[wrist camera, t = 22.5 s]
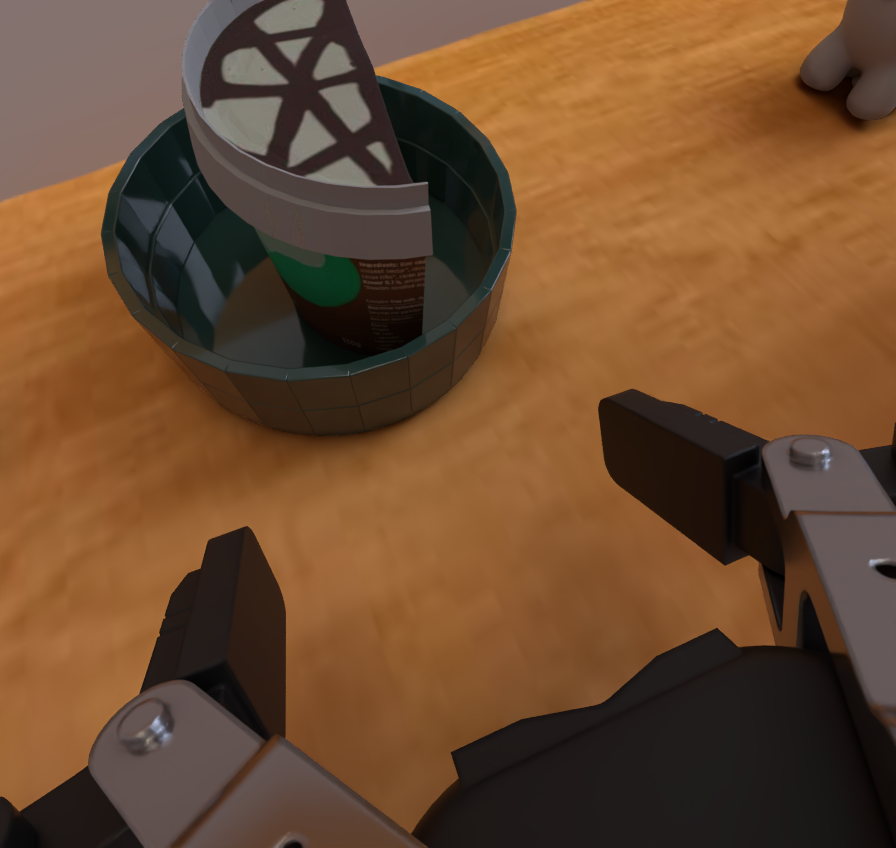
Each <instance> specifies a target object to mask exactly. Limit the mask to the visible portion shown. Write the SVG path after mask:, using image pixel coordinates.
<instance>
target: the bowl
mask: <svg viewBox="0 0 896 848" xmlns="http://www.w3.org/2000/svg"><path fill="white" fill-rule="evenodd" d="M376 78H377V81H378V84H379V88H380V91H381V94H382V97H383V100H384V103H385V106H386V110H387V113H388V116H389V118H390V121H391V124H392V127H393V130H394V133H395V136H396V139H397V142H398V145H399V147H400V150H401V153H402V156H403V159H404V162H405V165H406V167H407V170H408V172H409V175H410V177H411V179H412V181H413V182H414V183H421V182H428V205H429V208H430V210H431V226H432V247H433V255H429V256H426V264H425V285H424V307H423V328H422V335H421V336H419V337H417V338H416V339H414V340H412V341H411V342H409V343H407V344H406V345H404V346H402V347H400V348H397V349H393V350H390V351H387V352H384V353H381V354H377V355H374V356H368V355H364V354H359V353H355V352H351V351H349V350H346V349H343V348H341V347H338V346H336V345H334V344H333V343H331V342H329V341H327V340H326V339H324V338H322V337H321V336H320V335H319V334H318V333H316V332H315V331H314V330H313V329H311V327H310V326H309V325H308V324H307V323H306V322H305V320H304V319H303V318H302V317H301V315H300V313H299V311H298V310H297V308H296V306H295V304H294V302H293V300H292V299H291V297H290V295H289V293H288V291H287V289H286V287H285V285H284V283H283V281H282V280H281V278H280V276H279V274H278V272H277V270H276V268H275V266H274V264H273V262H272V261H271V259H270V257H269V255H268V253H267V251H266V249H265V247H264V245H263V244H262V242H261V240H260V238H259V236H258V234H257V232H256V230H255V228H254V226H252V225H250V224H248V223H247V222H246V221H244V220H243V219H242V218H241V217H239V216H238V215H237V214H236V213H234V212H233V211H232V210H231V209H229V208H228V207H227V206H226V205H225V204H224V203H223V202H222V201H221V199H220V198H219V197H218V196H217V195H216V194H215V192H214V191H213V190H212V189H211V188H210V187H209V185H208V183H207V181H206V180H205V178H204V176H203V174H202V172H201V170H200V169H199V167H198V164H197V161H196V157H195V153H194V150H193V146H192V142H191V138H190V133H189V128H188V124H187V119H186V115H185V110H184V108H183V109H182V110H180V111H179V112H177V113H175V114H174V115H172V116H171V117H169V118H168V119H166V120H164V121H163V122H162V123H160V124H159V125H158V126H157V127H156V128H155V129H154V130H153V131H152V132H151V133H150V134H149V135H148V136H147V137H146V138H145V139H144V141H142V142H141V143H140V144H139V145H138V146H137V147H136V148H135V149H134V150H133V151H132V153H130V155H129V157H128V159H127V160H126V162H125V164H124V166H123V167H122V169H121V171H120V173H119V175H118V176H117V178H116V180H115V182H114V183H113V185H112V187H111V189H110V191H109V193H108V199H107V204H106V209H105V214H104V219H103V225H102V230H101V238H102V244H103V249H104V255H105V261H106V267H107V272H108V276H109V279H110V280H111V282H112V284H113V285H114V287H115V289H116V290H117V292H118V294H119V295H120V297H121V299H122V300H123V302H124V304H125V305H126V307H127V309H128V310H129V312H130V314H131V315H132V316H133V318H134V319H135V320H136V321H137V322H138V323H139V324H140V325H141V326H142V327H143V329H144V330H145V331H146V332H147V333H148V334H149V335H150V336H151V337H152V338H153V339H154V341H155V342H156V343H157V344H158V345H159V346H160V347H161V348H162V349H163V350H164V351H165V352H166V354H167V355H168V356H169V357H170V358H171V359H172V360H173V361H174V362H175V363H176V365H177V366H178V367H179V368H180V369H181V370H182V371H183V372H184V373H185V374H186V375H187V377H188V378H189V379H190V380H191V381H192V382H194V383H195V384H196V385H197V386H198V387H200V388H201V389H202V390H203V391H204V392H205V393H207V394H208V395H209V396H210V397H211V398H213V399H214V400H215V401H216V402H217V403H219V404H220V405H221V406H222V407H224V408H226V409H228V410H231V411H233V412H235V413H237V414H239V415H241V416H243V417H245V418H247V419H249V420H251V421H253V422H256V423H259V424H261V425H264V426H267V427H270V428H272V429H276V430H281V431H286V432H290V433H295V434H304V435H314V436H334V435H348V434H355V433H361V432H367V431H371V430H374V429H378V428H382V427H385V426H389V425H391V424H394V423H396V422H399V421H401V420H404V419H406V418H408V417H411V416H412V415H414V414H416V413H418V412H420V411H421V410H423V409H425V408H427V407H428V406H430V405H431V404H433V403H434V402H435V401H437V400H438V399H439V398H441V397H442V396H443V395H445V394H446V393H447V392H448V391H449V390H450V389H451V388H452V387H454V386H455V385H456V384H457V383H458V382H459V381H460V380H461V379H462V377H463V376H464V375H465V374H466V372H467V371H468V370H469V368H470V367H471V366H472V365H473V363H474V362H475V361H476V360H477V358H478V357H479V355H480V354H481V352H482V350H483V348H484V346H485V343H486V341H487V339H488V337H489V335H490V333H491V331H492V329H493V327H494V325H495V322H496V319H497V314H498V310H499V305H500V301H501V296H502V292H503V287H504V283H505V278H506V274H507V269H508V265H509V261H510V256H511V252H512V244H513V237H514V229H515V221H516V213H517V212H516V206H515V201H514V196H513V192H512V187H511V183H510V178H509V174H508V171H507V169H506V168H505V166H504V164H503V163H502V161H501V159H500V158H499V156H498V154H497V153H496V151H495V149H494V147H493V146H492V144H491V142H490V141H489V139H488V138H487V137H486V136H485V135H484V134H483V133H482V132H481V131H480V130H479V129H478V128H477V127H475V126H474V125H473V124H472V123H471V122H470V121H469V120H468V119H467V118H466V117H465V116H464V115H463V114H462V113H461V112H459V111H458V110H456V109H455V108H453V107H451V106H450V105H448V104H446V103H444V102H443V101H441V100H439V99H437V98H436V97H434V96H432V95H431V94H429V93H427V92H425V91H422V90H421V89H418V88H415V87H412V86H409V85H406V84H403V83H400V82H397V81H394V80H391V79H388V78H385V77H381V76H376Z"/></svg>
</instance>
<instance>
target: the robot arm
mask: <svg viewBox="0 0 896 848" xmlns="http://www.w3.org/2000/svg"><path fill="white" fill-rule="evenodd" d="M598 411H599V420H600V429H601V437H602V446H603V454H604V461H605V465H606V468H607V470H608V472H609V474H610V476H611V477H612V479H613V480H614V481H615V482H616V483H617V484H618V485H619V486H620V487H622V488H623V489H624V490H626V491H627V492H628V493H630V494H631V495H632V496H634V497H635V498H636V499H638V500H639V501H640V502H642V503H643V504H644V505H645V506H647V507H648V508H649V509H651V510H652V511H653V512H655V513H656V514H657V515H659V516H660V517H661V518H663V519H664V520H665V521H667V522H668V523H669V524H671V525H672V526H673V527H675V528H676V529H677V530H679V531H680V532H681V533H682V534H684V535H685V536H686V537H688V538H689V539H690V540H692V541H693V542H694V543H696V544H697V545H698V546H700V547H701V548H702V549H704V550H705V551H706V552H708V553H709V554H710V555H712V556H713V557H714V558H716V559H717V560H718V561H719V562H721V563H722V564H723V565H727V564H730V563H732V562H734V561H736V560H739V559H741V558H743V557H746V556H748V555H750V556H751V557H753V558H754V559H756V560H757V561H759V569H758V572H759V578H760V582H761V586H762V591H763V595H764V599H765V603H766V607H767V612H768V616H769V620H770V624H771V628H772V632H773V637H774V641H775V645H776V646H765V645H763V646H748V647H739V648H738V647H737V646H736V645H735V644H734V643H733V642H732V641H731V640H730V639H729V638H728V637H726V636H725V635H724V634H723V633H722V632H721V631H720V630H719V629H718V628H716V629H714V630H712V631H709V632H707V633H705V634H703V635H701V636H699V637H697V638H695V639H692V640H690V641H688V642H686V643H684V644H682V645H680V646H677V647H675V648H673V649H671V650H669V651H667V652H665V653H662V654H660V655H658V656H656V657H655V658H654V659H653V660H652V661H651V662H650V663H648V664H647V665H646V666H645V667H644V668H643V669H642V670H640V671H639V672H638V673H637V674H636V675H635V676H634V677H633V678H631V679H630V680H629V681H628V682H627V683H626V684H625V685H623V686H622V687H621V688H620V689H619V690H618V691H617V692H615V693H614V694H613V695H612V696H611V697H610V698H609V699H607V700H606V701H605V702H603V703H601V704H598V705H594V706H589V707H584V708H579V709H573V710H568V711H563V712H557V713H552V714H547V715H542V716H536V717H531V718H526V719H521V720H519V721H517V722H515V723H512V724H510V725H508V726H506V727H504V728H502V729H500V730H498V731H495V732H493V733H491V734H489V735H487V736H485V737H483V738H480V739H478V740H476V741H474V742H472V743H470V744H468V745H465V746H463V747H461V748H459V749H457V750H455V751H453V752H451V755H452V758H453V761H454V764H455V767H456V771H457V774H458V777H459V779H457V780H456V781H455V782H454V783H453V784H452V785H451V786H449V787H448V788H447V789H446V790H445V791H444V792H443V793H442V794H441V795H440V796H439V798H438V799H437V800H436V801H435V802H434V803H433V804H432V805H431V806H430V808H429V809H428V810H427V812H426V813H425V814H424V816H423V817H422V819H421V820H420V821H419V823H418V824H417V825H416V827H415V829H414V830H413V832H412V834H410V833H409V832H407V831H406V830H405V829H403V828H402V827H401V826H399V825H398V824H397V823H395V822H394V821H393V820H392V819H390V818H389V817H388V816H386V815H385V814H384V813H382V812H381V811H380V810H378V809H377V808H376V807H374V806H373V805H372V804H370V803H369V802H368V801H367V800H365V799H364V798H363V797H361V796H360V795H359V794H357V793H356V792H355V791H353V790H352V789H351V788H349V787H348V786H347V785H346V784H344V783H343V782H342V781H340V780H339V779H338V778H336V777H335V776H334V775H332V774H331V773H330V772H328V771H327V770H326V769H325V768H323V767H322V766H321V765H319V764H318V763H317V762H315V761H314V760H313V759H311V758H310V757H309V756H307V755H306V754H305V753H304V752H302V751H301V750H300V749H298V748H297V747H296V746H294V745H293V744H292V743H290V742H289V741H288V740H286V739H285V735H286V610H285V604H284V600H283V596H282V593H281V590H280V587H279V585H278V583H277V581H276V578H275V576H274V574H273V572H272V570H271V568H270V566H269V564H268V562H267V560H266V558H265V556H264V553H263V551H262V549H261V547H260V545H259V543H258V541H257V539H256V537H255V535H254V533H253V531H252V530H251V529H250V528H249V527H248V526H246V527H243V528H240V529H237V530H234V531H231V532H229V533H226V534H223V535H220V536H217V537H215V538H212V539H209V541H208V543H207V546H206V550H205V554H204V558H203V561H202V565H201V569H198V570H195V571H193V572H190V573H188V574H187V575H186V576H185V578H184V579H183V580H182V582H181V583H180V584H179V585H178V587H177V588H176V589H175V591H174V592H173V593H172V594H171V597H170V600H169V604H168V607H167V610H166V613H165V617H166V618H165V619H163V622H162V625H161V628H160V632H159V633H160V636H159V637H158V638H157V641H156V644H155V647H154V650H153V653H152V656H151V660H150V663H149V666H148V669H147V672H146V675H145V678H144V681H143V684H142V688H141V691H140V694H139V695H138V696H136V697H135V698H133V699H132V700H131V701H129V702H128V703H127V704H125V705H124V706H123V707H122V708H121V709H120V710H119V711H118V712H117V713H116V714H115V715H114V716H113V717H112V718H111V719H110V720H109V721H108V722H107V724H106V725H105V726H104V727H103V729H102V730H101V732H100V733H99V735H98V736H97V738H96V740H95V742H94V744H93V746H92V748H91V751H90V754H89V760H88V766H87V767H85V768H84V769H83V770H81V771H80V772H79V773H77V774H76V775H74V776H73V777H72V778H70V779H69V780H67V781H65V782H64V783H62V784H61V785H59V786H58V787H56V788H55V789H53V790H52V791H50V792H49V793H47V794H46V795H44V796H43V797H41V798H40V799H38V800H37V801H35V802H34V803H32V804H31V805H29V806H28V807H26V808H25V809H23V810H22V811H20V812H19V811H18V810H17V809H16V808H15V807H14V806H13V805H12V804H11V803H10V802H9V801H8V800H7V799H5V798H4V797H0V848H896V423H895V428H894V434H893V441H892V445H888V446H882V447H876V448H870V449H863V450H857V449H856V448H854V447H853V446H852V445H850V444H848V443H846V442H843V441H841V440H838V439H834V438H830V437H825V436H819V435H790V436H784V437H780V438H777V439H774V440H772V441H767V440H765V439H763V438H760V437H758V436H756V435H753V434H751V433H749V432H746V431H744V430H742V429H739V428H737V427H735V426H732V425H730V424H728V423H725V422H723V421H719V422H718V420H717V419H716V418H714V417H711V416H709V415H707V414H705V415H703V414H702V412H700V411H697V410H695V409H693V408H690V407H688V406H686V405H683V404H677V403H671V402H665V401H660V400H658V399H656V398H654V397H651V396H649V395H647V394H645V393H642V392H640V391H638V390H635V389H629V390H627V391H624V392H621V393H618V394H615V395H612V396H610V397H607V398H604V399H602V400H601V401H600V403H599V407H598Z"/></svg>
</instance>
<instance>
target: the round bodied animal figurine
mask: <svg viewBox="0 0 896 848" xmlns="http://www.w3.org/2000/svg"><path fill="white" fill-rule="evenodd" d="M800 76H801V78H802V80H803V82H804V83H805V84H807V85H808V86H810V87H811V88H814V89H816V90H820V91H829V90H831V89H833V88H834V87H836V86H837V85H838V84H839V83H840V82H841V81H842V80H843V79H844V77H845V76H847V77H854V78H853V79H852V84H853V86H854V87H853V89H852V90H851V92H850V94H849V96H848V98H847V101H846V105H847V108H848V110H849V111H850V113H851V114H852V115H853V116H855V117H857V118H860V119H865V120H876V119H881V118H883V117H885V116H887V115H888V114H889V113H890V112H891V111H892V110H893V109H894V108H895V107H896V0H848V1H847V4H846V7H845V10H844V15H843V19H842V21H841V23H840V25H839V26H838V27H837V28H836V29H835V30H834V31H833V32H832V33H831V34H830V35H828V36H827V37H826V38H825V39H823V40H822V41H821V42H820V43H819V44H818V45H817V46H816V47H815V48H814V49H813V50H812V51H811V52H810V54H809V55H808V56H807V57H806V59H805V60H804V62H803V64H802V66H801V68H800Z"/></svg>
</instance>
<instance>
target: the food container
mask: <svg viewBox="0 0 896 848" xmlns="http://www.w3.org/2000/svg"><path fill="white" fill-rule="evenodd" d="M182 68H183V76H182V101H183V105H184V110H185V115H186V119H187V124H188V128H189V133H190V138H191V142H192V146H193V150H194V153H195V157H196V161H197V164H198V167H199V169H200V170H201V172H202V174H203V176H204V178H205V180H206V181H207V183H208V185H209V187H210V188H211V189H212V190H213V191H214V192H215V194H216V195H217V196H218V197H219V198H220V199H221V201H222V202H223V203H224V204H225V205H226V206H227V207H228V208H229V209H231V210H232V211H233V212H234V213H236V214H237V215H238V216H239V217H241V218H242V219H243V220H244V221H246V222H247V223H248V224H250V225H252V226H254V228H255V230H256V232H257V234H258V236H259V238H260V240H261V242H262V244H263V245H264V247H265V249H266V251H267V253H268V255H269V257H270V259H271V261H272V262H273V264H274V266H275V268H276V270H277V272H278V274H279V276H280V278H281V280H282V281H283V283H284V285H285V287H286V289H287V291H288V293H289V295H290V297H291V299H292V300H293V302H294V304H295V306H296V308H297V310H298V311H299V313H300V315H301V317H302V318H303V319H304V320H305V322H306V323H307V324H308V325H309V326H310V327H311V329H313V330H314V331H315V332H316V333H318V334H319V335H320V336H321V337H322V338H324V339H326V340H327V341H329V342H331V343H333V344H334V345H336V346H338V347H341V348H343V349H346V350H349V351H351V352H355V353H359V354H364V355H368V356H374V355H377V354H381V353H384V352H387V351H390V350H393V349H397V348H400V347H402V346H404V345H406V344H407V343H409V342H411V341H412V340H414V339H416V338H417V337H419V336H421V335H422V328H423V307H424V285H425V264H426V256H429V255H433V247H432V226H431V210H430V208H429V205H428V182H421V183H414V182H413V181H412V179H411V177H410V175H409V172H408V170H407V167H406V165H405V162H404V159H403V156H402V153H401V150H400V147H399V145H398V142H397V139H396V136H395V133H394V130H393V127H392V124H391V121H390V118H389V116H388V113H387V110H386V106H385V103H384V100H383V97H382V94H381V91H380V88H379V84H378V81H377V78H376V75H375V72H374V69H373V66H372V64H371V62H370V59H369V57H368V55H367V52H366V50H365V48H364V46H363V44H362V41H361V39H360V36H359V35H358V32H357V29H356V26H355V24H354V21H353V18H352V16H351V13H350V10H349V7H348V5H347V2H346V0H210V1H208V3H207V4H206V5H205V7H204V8H203V9H202V10H201V12H200V13H199V14H198V16H197V17H196V18H195V21H194V22H193V25H192V26H191V28H190V31H189V33H188V35H187V37H186V41H185V45H184V50H183V54H182Z"/></svg>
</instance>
